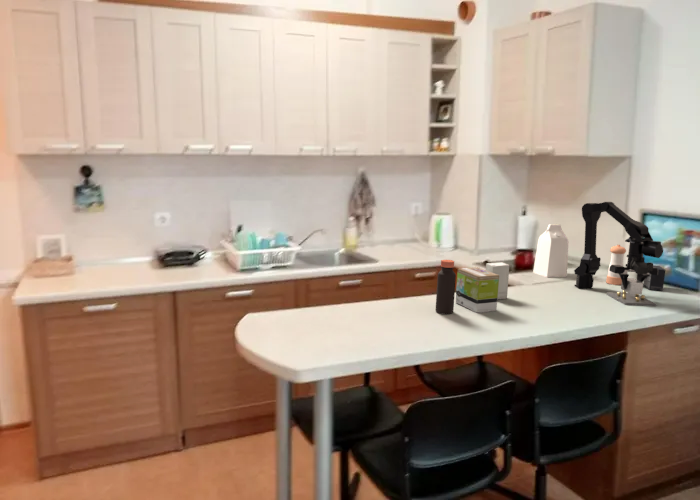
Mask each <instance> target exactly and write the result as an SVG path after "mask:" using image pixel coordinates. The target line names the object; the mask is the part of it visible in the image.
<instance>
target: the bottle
mask: <svg viewBox="0 0 700 500" xmlns="http://www.w3.org/2000/svg"><path fill="white" fill-rule="evenodd" d="M454 267H455V261H454V260H451V259H441V260H440V268H441V270H440V271H439V272H438V273H437V283H436V296H435V297H436V298H435V312H436V313H437V314H441V315H450V314H451V315H452V314H453V313H454V309H455V308H454V307H455V306H454V305H455V296H456V282H457V274H456V272H454Z"/></svg>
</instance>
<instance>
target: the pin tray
mask: <svg viewBox="0 0 700 500" xmlns="http://www.w3.org/2000/svg"><path fill="white" fill-rule="evenodd" d="M606 296H608V297H610V298H611V299H614V300H616V301H617V302H620V303H621V304H623V305H624V306H640V307H641V306H644V307H645V306H646V307H647V306H649V307H656V306H657V303H656V302H653V301H652V300H650V299H648V298H646V296H645V295H644V294H629V293H628V292H626V291H624V290H622V291H617V292H612V291H611V292H610V291H609V292H608V291H607V292H606Z"/></svg>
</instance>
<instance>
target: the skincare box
mask: <svg viewBox="0 0 700 500" xmlns="http://www.w3.org/2000/svg"><path fill="white" fill-rule="evenodd" d="M485 270H486V271H489V272H492V273H495V274H497V275H499V286H498V298H497V300H502V299H503V300H505V299H508V290H509V278H510V276H509V273H510V264H508V263H505V262H502V261H501V262H491V263H489V262H488V263H485Z"/></svg>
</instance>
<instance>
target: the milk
mask: <svg viewBox="0 0 700 500" xmlns="http://www.w3.org/2000/svg"><path fill="white" fill-rule="evenodd" d="M535 251H536V252H535V257H534V264H533V269H532V270H533V271H532V273H533V274H536V275H540V276H541V277H545V278H560V277H563V278H564V277H565V278H566V277H567V276H568V260H569V259H568V257H569V239H568V237H567V236H566V234H565V232H564V231H563V230H562V225H561V224H557V223H556V224H551V223H548V226H547V228H546V230H545V231H543V233H541V234H540V235H539V236H538V239H537V246H536V250H535Z"/></svg>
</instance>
